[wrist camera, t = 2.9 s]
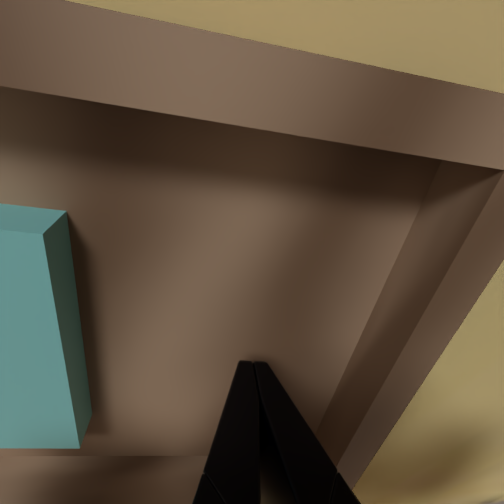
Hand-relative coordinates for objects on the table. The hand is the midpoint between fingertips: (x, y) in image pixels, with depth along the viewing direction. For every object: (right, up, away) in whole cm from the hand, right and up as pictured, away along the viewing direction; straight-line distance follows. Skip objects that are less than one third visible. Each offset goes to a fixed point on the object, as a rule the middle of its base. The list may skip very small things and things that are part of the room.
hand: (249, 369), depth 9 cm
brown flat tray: (-5, +1, +1) cm, 5 cm away
